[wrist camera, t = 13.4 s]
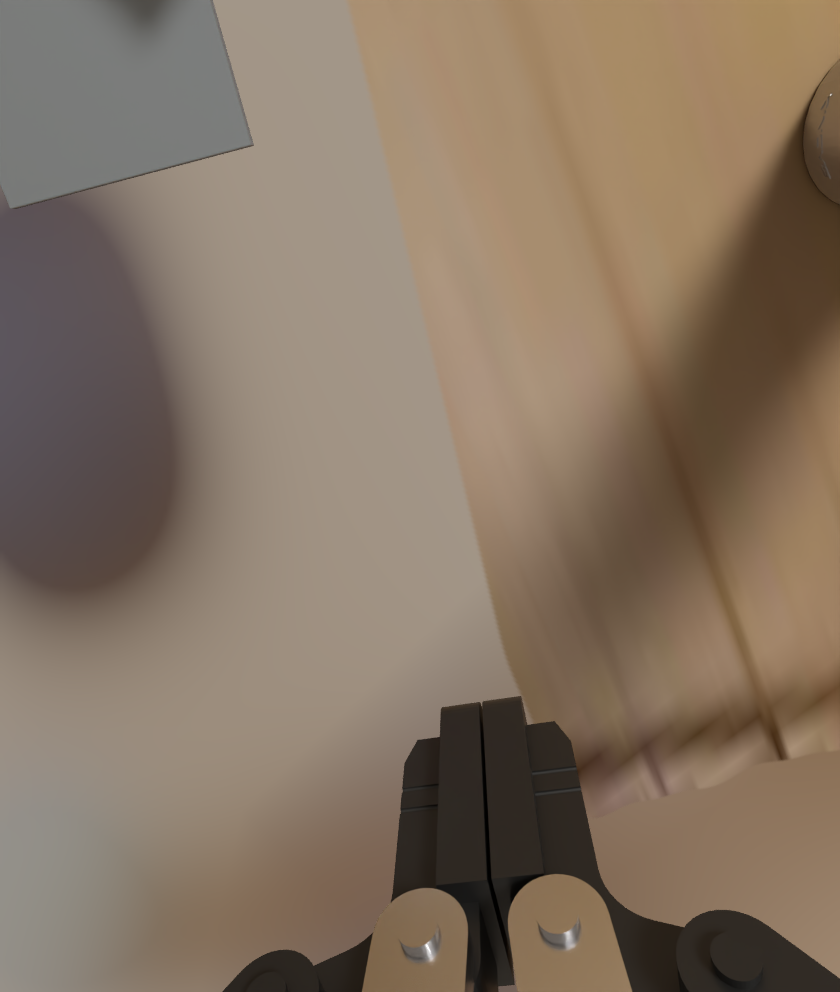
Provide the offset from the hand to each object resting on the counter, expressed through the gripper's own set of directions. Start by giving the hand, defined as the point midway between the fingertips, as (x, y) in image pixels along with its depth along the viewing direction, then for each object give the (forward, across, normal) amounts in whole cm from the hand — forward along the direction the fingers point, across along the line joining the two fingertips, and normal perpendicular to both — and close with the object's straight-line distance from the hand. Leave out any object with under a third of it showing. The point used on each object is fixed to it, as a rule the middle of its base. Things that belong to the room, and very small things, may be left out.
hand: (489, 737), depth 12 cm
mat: (+35, +18, -24) cm, 46 cm away
